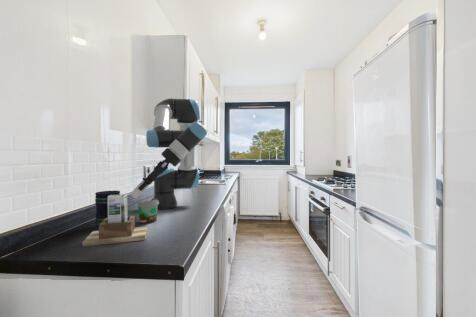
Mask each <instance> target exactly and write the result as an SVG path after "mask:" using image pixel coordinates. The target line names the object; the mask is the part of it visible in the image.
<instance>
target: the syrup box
mask: <svg viewBox="0 0 476 317" xmlns="http://www.w3.org/2000/svg"><path fill="white" fill-rule="evenodd" d="M127 216H128V194H126V193H125V194H121V193H120V195H109V196H108V223H118V222H128V218H127Z"/></svg>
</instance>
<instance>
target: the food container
mask: <svg viewBox="0 0 476 317" xmlns="http://www.w3.org/2000/svg"><path fill="white" fill-rule="evenodd" d="M158 204H159V201H158V199H156V198H153V197H152V198H151V199H150V200H146V201H143V202H142V201H140V202H139V201H138V202H137V208H138V218H139V225H146V224H152V223H156V222H157V221H158V220H157V218H158V209H157V207H158Z"/></svg>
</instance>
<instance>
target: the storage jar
mask: <svg viewBox="0 0 476 317" xmlns="http://www.w3.org/2000/svg"><path fill="white" fill-rule="evenodd" d="M94 194H95V198H94V201H95V202H94V203H95V209H96V211H95V212H96V213H95V228H96V229H98V230H99V224H100V223H101V222H102V221H103V220H104V219H105V218H108V196H109V195H120V194H121V191H120V190H103V191H102V190H101V191H96V192H95V193H94Z"/></svg>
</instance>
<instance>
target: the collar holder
mask: <svg viewBox="0 0 476 317" xmlns="http://www.w3.org/2000/svg"><path fill="white" fill-rule="evenodd" d="M127 218H128V222H118V223H108V218H105V219H104V220H103V221H102V222H101V223H100V224H99V229H98V230H93V231H91V233H89V235H87V237H86V238H85V239H84V240H83V241H82V243H81V244H82V247H89V246H98V245H109V244H116V243H117V244H121V243H127V242H137V241H138V242H139V241H145V240H146V238H147V233H148V226H147V225H145V226H135V224H136V223H135V222H136V221H135V218H136V216H135V215H127Z"/></svg>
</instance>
